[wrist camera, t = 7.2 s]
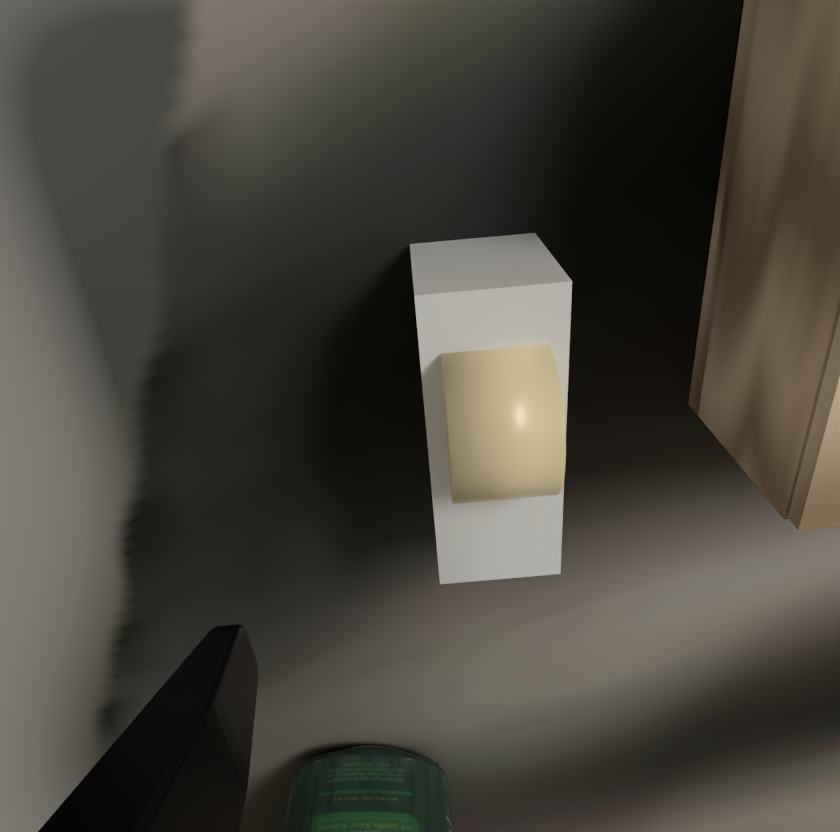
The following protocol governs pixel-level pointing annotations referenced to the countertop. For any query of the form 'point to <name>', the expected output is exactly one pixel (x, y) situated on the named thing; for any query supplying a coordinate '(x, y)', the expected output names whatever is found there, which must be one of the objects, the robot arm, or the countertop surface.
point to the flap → (821, 455)
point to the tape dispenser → (494, 402)
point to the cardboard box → (774, 244)
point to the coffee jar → (369, 793)
